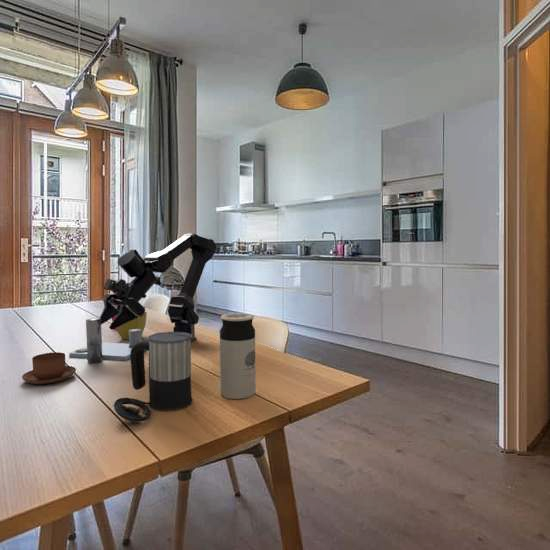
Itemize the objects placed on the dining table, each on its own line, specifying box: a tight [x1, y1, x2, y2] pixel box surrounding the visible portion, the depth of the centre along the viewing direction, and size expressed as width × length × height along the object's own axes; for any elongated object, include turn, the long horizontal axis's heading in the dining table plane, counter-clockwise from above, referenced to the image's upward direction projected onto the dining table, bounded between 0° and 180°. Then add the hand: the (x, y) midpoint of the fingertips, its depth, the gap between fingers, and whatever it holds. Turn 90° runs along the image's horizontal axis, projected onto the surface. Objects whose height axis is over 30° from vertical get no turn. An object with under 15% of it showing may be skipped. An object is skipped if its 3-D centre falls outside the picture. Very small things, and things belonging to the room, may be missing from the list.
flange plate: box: [68, 329, 147, 361], centre depth 129 cm, size 19×14×6 cm
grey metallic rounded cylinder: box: [85, 317, 104, 365], centre depth 119 cm, size 4×4×12 cm
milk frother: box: [113, 331, 194, 423], centre depth 84 cm, size 14×16×15 cm
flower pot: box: [114, 311, 148, 340], centre depth 150 cm, size 9×9×9 cm
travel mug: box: [219, 312, 257, 400], centre depth 93 cm, size 8×8×18 cm
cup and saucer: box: [21, 351, 77, 385], centre depth 104 cm, size 12×12×6 cm
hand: (104, 326), depth 121 cm, fingers open, 9 cm apart
